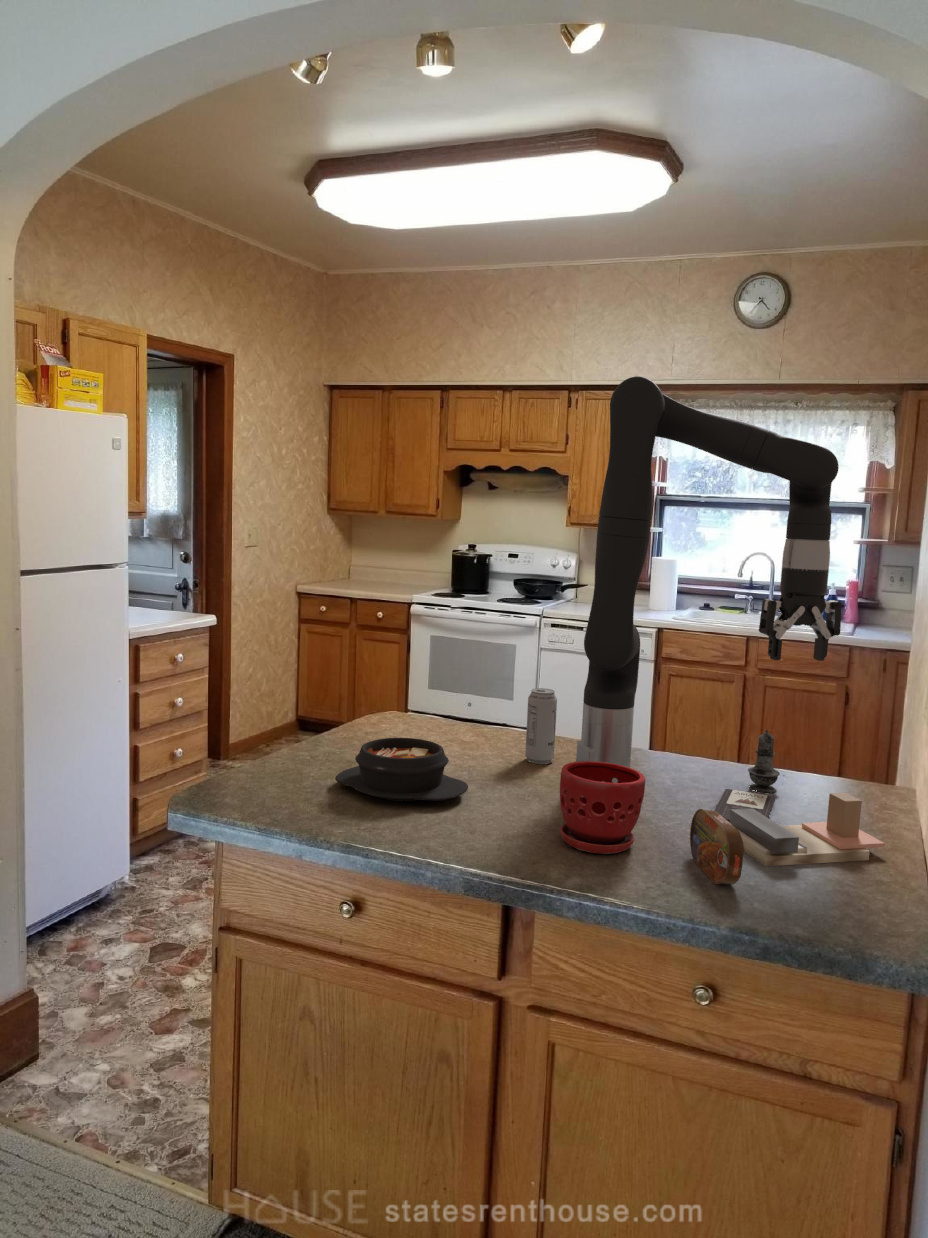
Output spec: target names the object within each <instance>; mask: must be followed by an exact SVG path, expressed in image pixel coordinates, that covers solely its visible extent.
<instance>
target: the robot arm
mask: <svg viewBox="0 0 928 1238" xmlns="http://www.w3.org/2000/svg"><path fill="white" fill-rule="evenodd" d="M609 400H610V401H609V425H610V427H609V429H610V431H609V455H608V463H607V469H606V473H605V478H604V482H603V483H604V484H603V487H602V494H601V499H600V505H599V506H600V507H599V513H598V520H597V521H598V522H597V533H596V543H595V557H594V558H595V562H594V584H593V585H594V588H593V596H592V601H591V607H590V611H589V616H588V617H589V618H588V622H587V626H586V630H585V633H584V639H583V648H584V652H585V655H586V657H587V659H588V673H587V677H586V682H585V685H584V686H585V687H584V690H583V703H582V704H583V705H582V708H583V709H582V718H581V719H582V723H581V738H580V740H578V741H577V742H576V754H575V755H576V760H575V762H580V761H594V762H606V763H612V764H618V765H622V766H626V767H629V768H631V762H632V761H631V759H632V746H633V745H632V743H633V726H634V714H635V713H634V711H635V702H636V701H635V699H636V692H637V687H638V681H639V680H638V679H639V667H640V655H641V637H640V633H639V630H638V628H637V627H636V625H635V624H634V612H635V598H636V594H637V593H636V592H637V589H638V584H639V581H640V579H641V575H642V572H643V568H644V564H645V561H646V557H647V553H648V549H649V542H650V536H651V525H652V516H653V479H652V475H653V474H652V462H653V461H652V460H653V452H654V447H655V446H654V445H655V441H656V437H657V438H662V439H667V440H670V441H674V442H677V443H681V444H684V445H686V446H690V447H693V448H695V449H698V450H701V451H703V452H706V453H708V454H711V455H713V456H715V457H718V458H720V459H723V460H725V461H728V462H730V463H734V464H736V465H739V466H741V467H744V468H747V469H750V470H753V471H756V472H759V473H763V474H764V473H765V474H771V475H774V476H776V477H778V478H782V479H784V480H787V481H789V483H788V484H789V486H788V487H789V488H788V489H789V490H788V491H789V496H788V497H789V498H788V499H789V501H788V502H789V511H788V515H787V519H786V520H787V523H786V534H785V543H784V547H783V551H782V559H781V560H782V561H781V575H780V586H779V590H780V591H779V592H780V597H779V600H774V599H770V598H764V599H763V600H762V602H761V603H762V605H761V609H760V610H761V611H760V612H761V613H760V618H759V626H758V632H759V633H760V634H762V635H765V636H767V637H768V645H767V646H768V648H767V655H768V657H769V658H770V660H772V661H773V660H774V661H780V660H781V658H782V647H783V646H782V645H783V639H782V637H783V636H784V635H785V633H786V632H787V631H788V630H790V629H791V628H792V627H793V626H796V627H797V626H807V627H810V628H811V629H812V630H813V632H814V633H815V636H816V637H814V646H813V655H812V656H813V659H814V660H815V661H820V662H821V661H823V662H824V661H825V658H827V656H828V649H829V647H828V646H829V640H830V639H831V638H833V637H835V636H836V637H838V636H840V634H841V625H842V623H841V621H842V602H841V601H837V600H833V599H830V600H829V599H828V600H825V595H826V594H827V592H828V581H829V573H830V572H829V571H830V562H831V561H830V559H831V547H830V546H831V545H830V540H831V530H832V529H831V528H832V510H831V507H830V502H831V492H832V484H833V482H834V481H835V479H836V478H837V475H838V473H839V469H840V468H839V465H840V464H839V461H838V459H837V457H836V455H835V454H834V452H833V451H831V450H830V449H828V448H826V447H824V446H821V445H819V444H815V443H812V442H808V441H804V440H801V439H796V438H792V437H788V436H784V435H782V434H778V433H777V432H774V431H772V430H769V429H767V428H763V427H762V426H761V427H760V426H758V425H755V424H753V423H749V422H745V421H742V420H739V419H735V418H733V417H728V416H723V415H718V414H714V413H709V412H706V411H703V410H700V409H698V408H697V409H696V408H694V407H690V406H689V405H685V404H683V403H681V402H679V401H677V400H675V399H673V398H671V397H670V396H667V395H666V394H665V393H663V392H662V390H661V389H660V387H659V386H658V385H657V384H656V383H655V382H654V381H653V380H651V379H649V378H647V377H644V376H640V375H639V376H631V377H629V378H627V379H625V380H623V381H622V382H620V383H619V384H618V386H616V388H615V389H614V391H613V392H612V394H611V397H610V399H609ZM778 611H780V614H779V615H778V616H777V618H776V619H775V617H776V614H777V612H778ZM823 612H825V619H824V617H823V616H822V613H823ZM601 782H604V781H601ZM612 782H613V783H617V782H618V780H617V779H616V778H613V779H612ZM581 797H583V796H581Z"/></svg>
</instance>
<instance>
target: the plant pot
mask: <svg viewBox="0 0 928 1238" xmlns="http://www.w3.org/2000/svg"><path fill="white" fill-rule="evenodd" d="M613 778H616V779H617V780H618V782H617V783H613V782H612V779H613ZM559 779H560V780H559V802H560V803H559V804H560V809H561V815H562V817H563V820H564V824H563V825H561V827H560V831H559V832H560V836H561V838H562V839H563V840H564V842H565V843H566V844H568V845H569V846H571V847H572V848H575V849H576V850H577V851H580V852H581V851H582V852H586V853H592V854H601V855H608V854H609V855H610V854H617V853H622V852H623V851H626V850H628V849H629V848H630V847H631V846H633V844H634V841H635V835H634V834H633V830H634V829H635V826H636V825H637V822H638V820H639V818H640V815H641V811H642V805H643V801H644V796H645V791H646V789H645V788H646V776H645V775H644V774H643V773H642V772H640V771H639V770H637V769H634V768H632V767H630V768H629V767H626V766H622V765H618V764H612V763H606V762H594V761H580V762H576V761H574V762H569V763H566V764H564V765H563V766H562V767H561V772H560V778H559ZM601 781H604V782H601ZM582 796H583V797H582Z"/></svg>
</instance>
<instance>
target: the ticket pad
mask: <svg viewBox="0 0 928 1238" xmlns="http://www.w3.org/2000/svg"><path fill="white" fill-rule="evenodd" d="M730 823H731V824H732V825H733V826H734V827H735V828H737V830H738V831H739V832H740V834H741V837H742V840H743V845H744V853H746V854H747V855H749V857H751V858H752V859H754V860H755V861H757V862H758V863H760V865H763V866H764V867H776V866H792V865H809V864H811V865H812V864H826V863H844V862H845V863H846V862H863V861H869V859H870V850H869V849H867V848H854V849H838V848H837V847H835V846H833V845H832V844H830V843H828V842H827V841H825V840H823V839H822V838H820V837H818V836H817V835H815V834H813V833H812V832H810V831H808V830H807V829H805V828H803V827H802V824H792V825H791V824H790V825H780V824H778V823H776V822H775V821H773V820H772V819H770V817H769V818H767V817H765V816H764V815H762V814H760V813H759V812H757V811H756V810H754V809H731V811H730Z"/></svg>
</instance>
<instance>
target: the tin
mask: <svg viewBox="0 0 928 1238" xmlns="http://www.w3.org/2000/svg"><path fill="white" fill-rule="evenodd" d="M689 830H690V832H689V833H690V834H689V844H690V852H691V855H692V859H693V861H694V863H695V864H696V866H698V867H699V869H701V870H702V871H703V873H704V874H705V875H706V876H707V878H708V879H710V881H711V882H712V883H714V885H734V884H736V883H737V882H739V880H740V879H741V876H742V870H743V863H744V855H745V852H744V845H743V840H742V837H741V834H740V832H739V831H738V830H737V828H735V827H734V826H733V825H732V824H731V823H730V822H729V821H727V820H726V819H725V818H724V817H723V816H722V815H721V814H719V813H718V812H716V811H714V810H708V809H703V808H699V809H697V810H696V811H695V813H694V815H693V817H692V819H691V823H690V829H689Z"/></svg>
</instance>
